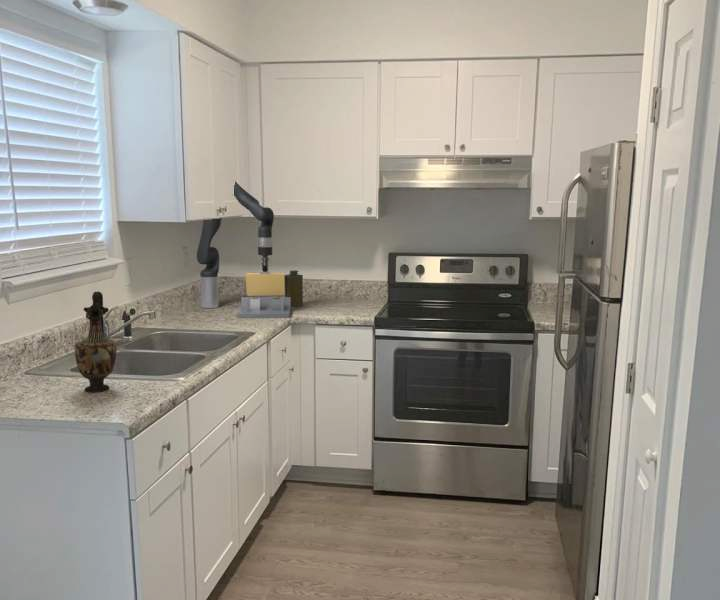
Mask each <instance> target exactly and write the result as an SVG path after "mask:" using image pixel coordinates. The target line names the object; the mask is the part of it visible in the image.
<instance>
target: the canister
mask: <svg viewBox="0 0 720 600" xmlns="http://www.w3.org/2000/svg"><path fill="white" fill-rule="evenodd" d="M298 272H299V270H289V272H288V273H289V274H284V283H285V296H284V297H291V308H300V307H303V306H304V303H303V302H304V301H303V300H304V299H303V297H304V294H303V293H304V289H303V288H304V287H303V276H304V275H303V274H298Z"/></svg>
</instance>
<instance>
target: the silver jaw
mask: <svg viewBox="0 0 720 600" xmlns="http://www.w3.org/2000/svg"><path fill="white" fill-rule="evenodd" d="M260 310H261V298H251V299H250V311H260Z"/></svg>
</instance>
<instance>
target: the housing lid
mask: <svg viewBox="0 0 720 600" xmlns="http://www.w3.org/2000/svg"><path fill="white" fill-rule="evenodd" d="M284 275H285V273H282V272H280V273H278V272H277V273H276V272H273V273H272V272H270V271H268V272H263V271H259V272H258V273H256V272H255V273H254V272H253V273H251V272H249V273H248V272H246V273H245V285H246V297H285V283H284Z"/></svg>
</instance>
